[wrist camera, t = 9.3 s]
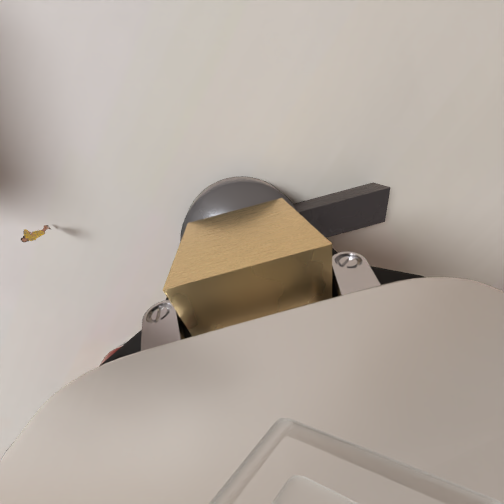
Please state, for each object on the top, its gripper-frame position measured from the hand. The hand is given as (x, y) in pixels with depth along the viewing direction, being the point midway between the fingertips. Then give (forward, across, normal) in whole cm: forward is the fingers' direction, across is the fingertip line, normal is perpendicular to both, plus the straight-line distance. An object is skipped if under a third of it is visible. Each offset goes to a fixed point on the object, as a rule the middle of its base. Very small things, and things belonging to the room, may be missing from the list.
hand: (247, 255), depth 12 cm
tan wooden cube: (0, 0, 0) cm, 0 cm away
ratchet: (+3, -3, 0) cm, 4 cm away
